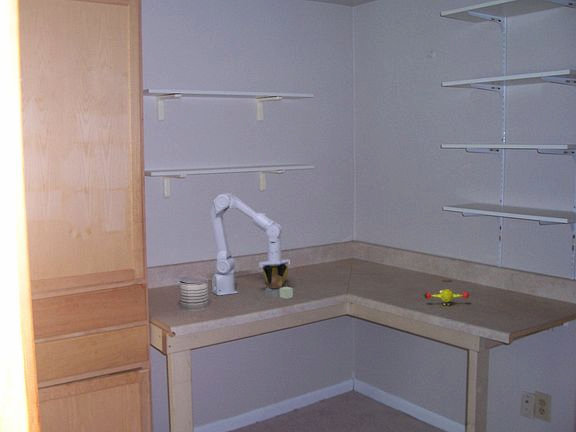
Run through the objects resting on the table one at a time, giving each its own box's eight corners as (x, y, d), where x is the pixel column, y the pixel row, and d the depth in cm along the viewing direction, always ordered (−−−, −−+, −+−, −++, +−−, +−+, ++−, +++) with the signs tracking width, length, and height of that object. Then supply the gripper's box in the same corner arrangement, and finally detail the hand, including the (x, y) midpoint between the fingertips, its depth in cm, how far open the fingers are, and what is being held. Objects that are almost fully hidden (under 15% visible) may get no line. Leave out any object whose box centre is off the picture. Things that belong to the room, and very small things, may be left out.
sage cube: (286, 298, 269) (285, 289, 269) (279, 297, 272) (279, 288, 271) (292, 297, 272) (292, 288, 271) (286, 295, 275) (286, 286, 274)
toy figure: (466, 303, 258) (467, 287, 257) (470, 307, 253) (470, 290, 252) (422, 304, 258) (422, 287, 257) (425, 307, 253) (425, 290, 252)
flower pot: (277, 287, 289) (276, 268, 288) (262, 285, 294) (262, 266, 293) (288, 284, 296) (288, 265, 295) (274, 282, 301) (273, 263, 300)
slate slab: (272, 297, 272) (272, 290, 271) (265, 295, 277) (265, 288, 276) (284, 295, 275) (284, 289, 275) (277, 293, 280) (276, 286, 280)
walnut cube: (272, 288, 272) (272, 277, 272) (268, 286, 276) (268, 275, 276) (282, 286, 274) (281, 276, 274) (277, 284, 278) (277, 274, 278)
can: (194, 302, 263) (193, 274, 262) (214, 306, 257) (213, 277, 256) (174, 308, 254) (173, 279, 253) (195, 312, 248) (194, 282, 246)
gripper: (263, 254, 267) (263, 285, 268) (293, 251, 274) (293, 281, 275) (256, 251, 273) (256, 282, 275) (285, 248, 280) (286, 278, 281)
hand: (274, 282), depth 275 cm, fingers closed on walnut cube, 4 cm apart
